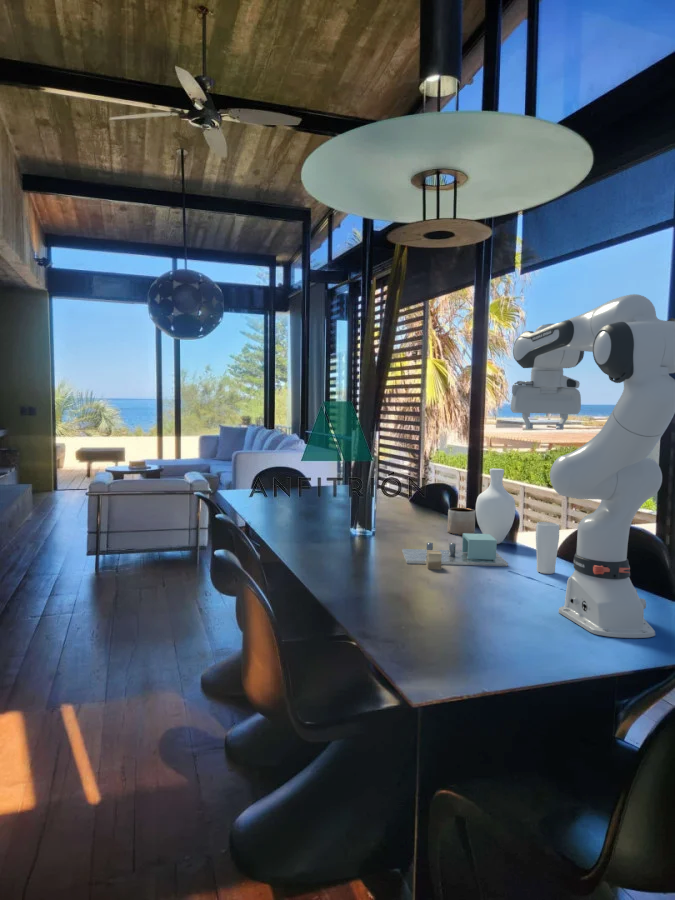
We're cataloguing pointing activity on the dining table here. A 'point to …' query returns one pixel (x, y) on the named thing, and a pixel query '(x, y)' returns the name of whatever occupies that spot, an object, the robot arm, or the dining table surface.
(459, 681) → the dining table surface
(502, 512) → the vase
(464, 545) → the cover
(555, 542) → the drinking glass
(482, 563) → the base
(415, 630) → the dining table surface
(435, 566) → the block
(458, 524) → the planter
